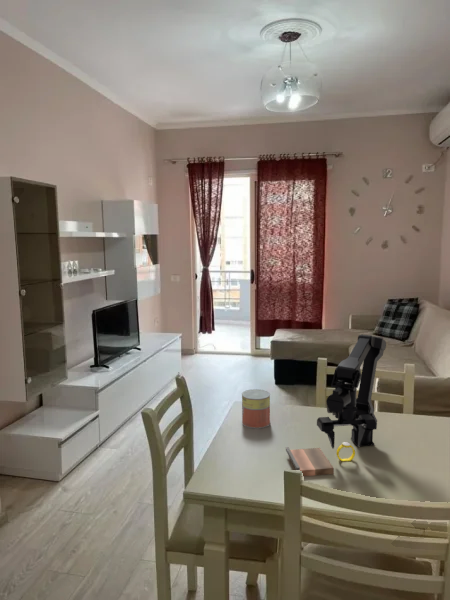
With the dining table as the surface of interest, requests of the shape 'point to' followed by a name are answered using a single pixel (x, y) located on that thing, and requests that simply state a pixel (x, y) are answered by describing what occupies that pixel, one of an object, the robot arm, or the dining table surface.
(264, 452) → the dining table surface
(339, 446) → the watch
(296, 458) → the copper slab
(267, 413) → the canned food
